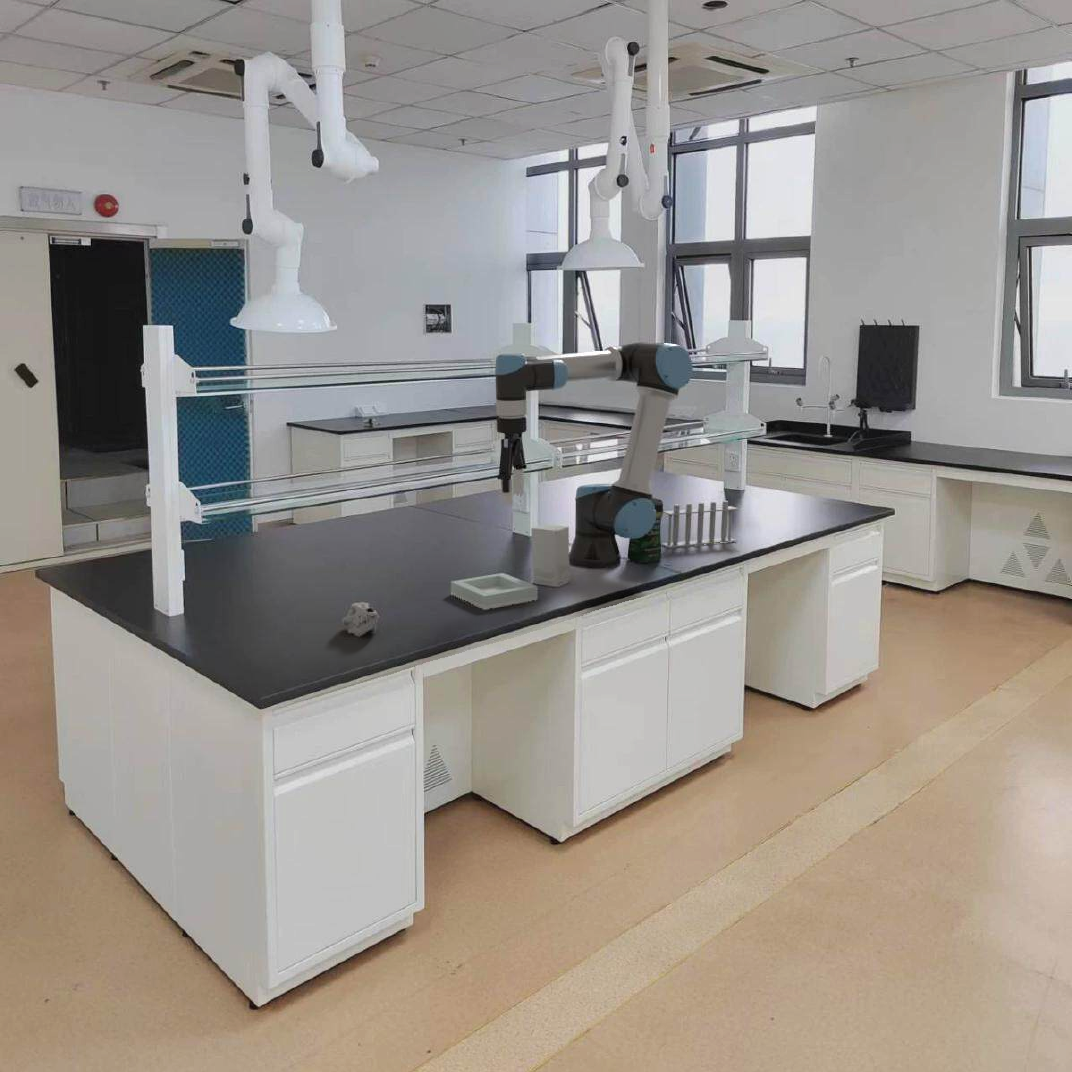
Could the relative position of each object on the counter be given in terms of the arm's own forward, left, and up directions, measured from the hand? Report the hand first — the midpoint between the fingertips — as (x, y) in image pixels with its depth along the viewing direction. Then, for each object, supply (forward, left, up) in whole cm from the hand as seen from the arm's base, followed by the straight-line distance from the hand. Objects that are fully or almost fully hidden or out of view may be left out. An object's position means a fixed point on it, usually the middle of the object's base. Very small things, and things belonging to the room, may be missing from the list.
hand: (512, 499), depth 264 cm
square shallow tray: (+7, +2, -25) cm, 25 cm away
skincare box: (-13, -1, -25) cm, 28 cm away
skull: (+48, +10, -25) cm, 55 cm away
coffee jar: (-51, -6, -25) cm, 57 cm away
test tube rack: (-80, -13, -25) cm, 85 cm away
